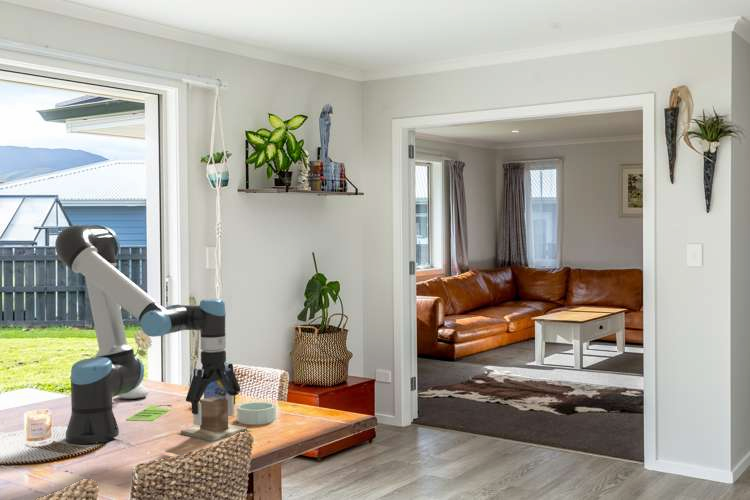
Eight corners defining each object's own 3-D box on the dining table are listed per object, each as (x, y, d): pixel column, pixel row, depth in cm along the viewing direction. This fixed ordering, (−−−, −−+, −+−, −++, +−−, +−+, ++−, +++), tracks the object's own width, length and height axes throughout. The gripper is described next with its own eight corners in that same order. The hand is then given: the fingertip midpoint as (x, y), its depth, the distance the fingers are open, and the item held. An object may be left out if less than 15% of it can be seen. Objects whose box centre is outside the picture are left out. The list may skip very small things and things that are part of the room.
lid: (212, 440, 241) (212, 406, 240) (180, 433, 249) (180, 400, 249) (247, 431, 252) (246, 398, 252) (215, 424, 260) (215, 393, 260)
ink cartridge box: (202, 403, 295) (202, 362, 295) (208, 399, 301) (208, 360, 300) (229, 404, 294) (228, 363, 293) (234, 400, 299) (234, 361, 299)
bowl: (256, 428, 258) (256, 412, 258) (229, 423, 265) (229, 407, 265) (282, 421, 268) (282, 405, 267) (256, 416, 275) (256, 400, 275)
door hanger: (152, 422, 269) (180, 405, 293) (152, 420, 269) (180, 403, 293) (125, 421, 270) (155, 404, 295) (125, 419, 270) (155, 403, 295)
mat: (212, 444, 239) (212, 442, 239) (176, 436, 249) (176, 433, 249) (251, 433, 252) (251, 430, 252) (216, 425, 262) (216, 423, 262)
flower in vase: (125, 402, 297) (124, 333, 296) (111, 397, 305) (110, 330, 304) (158, 397, 306) (157, 330, 305) (144, 392, 314) (143, 327, 313)
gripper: (189, 356, 238) (190, 430, 238) (251, 346, 257) (252, 414, 258) (172, 354, 242) (174, 426, 243) (234, 344, 262) (235, 411, 262)
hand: (214, 420), depth 250 cm, fingers open, 12 cm apart
